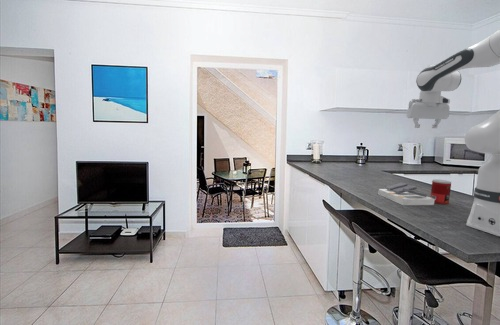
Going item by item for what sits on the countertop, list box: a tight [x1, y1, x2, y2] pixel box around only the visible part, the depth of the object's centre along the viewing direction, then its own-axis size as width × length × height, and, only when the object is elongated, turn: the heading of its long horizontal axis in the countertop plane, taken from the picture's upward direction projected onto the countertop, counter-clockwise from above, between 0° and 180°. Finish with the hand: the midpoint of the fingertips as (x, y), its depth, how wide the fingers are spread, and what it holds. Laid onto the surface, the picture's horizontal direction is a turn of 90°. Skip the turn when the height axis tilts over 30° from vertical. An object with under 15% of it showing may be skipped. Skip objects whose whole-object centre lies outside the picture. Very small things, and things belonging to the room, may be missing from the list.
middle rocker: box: [393, 184, 417, 194], centre depth 149 cm, size 4×10×1 cm, turn 96°
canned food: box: [430, 179, 452, 205], centre depth 145 cm, size 8×8×11 cm
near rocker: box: [403, 188, 428, 197], centre depth 142 cm, size 4×10×1 cm, turn 96°
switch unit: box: [377, 188, 435, 206], centre depth 150 cm, size 22×16×3 cm
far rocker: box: [384, 182, 409, 191], centre depth 156 cm, size 4×10×1 cm, turn 96°
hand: (425, 128), depth 143 cm, fingers open, 8 cm apart
